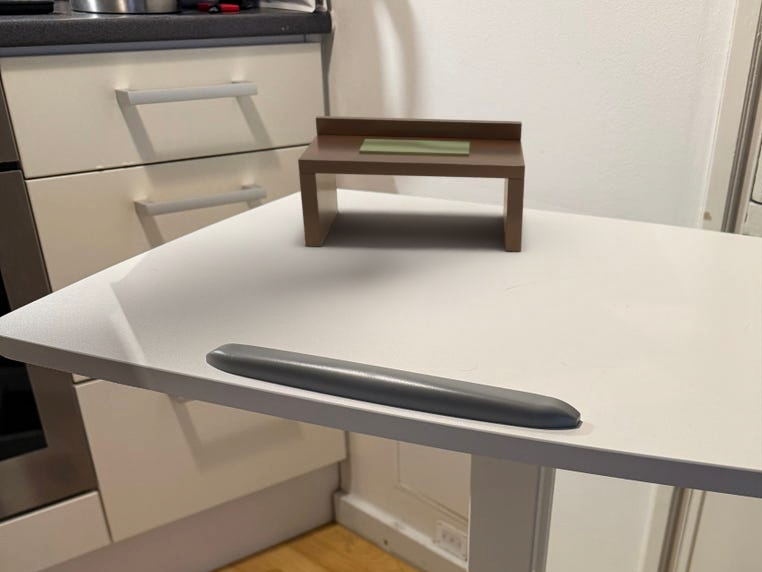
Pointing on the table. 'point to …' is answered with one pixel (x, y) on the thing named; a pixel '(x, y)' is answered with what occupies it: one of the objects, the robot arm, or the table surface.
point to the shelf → (409, 161)
